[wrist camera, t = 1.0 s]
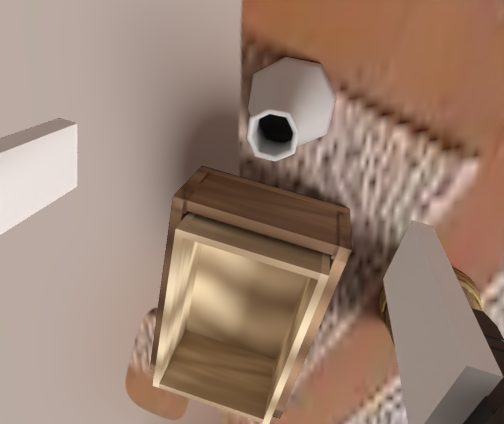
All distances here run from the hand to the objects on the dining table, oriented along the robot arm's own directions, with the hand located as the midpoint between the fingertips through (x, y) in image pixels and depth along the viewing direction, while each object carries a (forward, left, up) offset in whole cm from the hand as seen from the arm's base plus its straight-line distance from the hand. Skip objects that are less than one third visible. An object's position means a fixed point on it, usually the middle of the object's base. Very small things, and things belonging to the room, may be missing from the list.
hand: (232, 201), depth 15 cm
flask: (0, 0, -19) cm, 19 cm away
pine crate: (+15, +10, -19) cm, 26 cm away
